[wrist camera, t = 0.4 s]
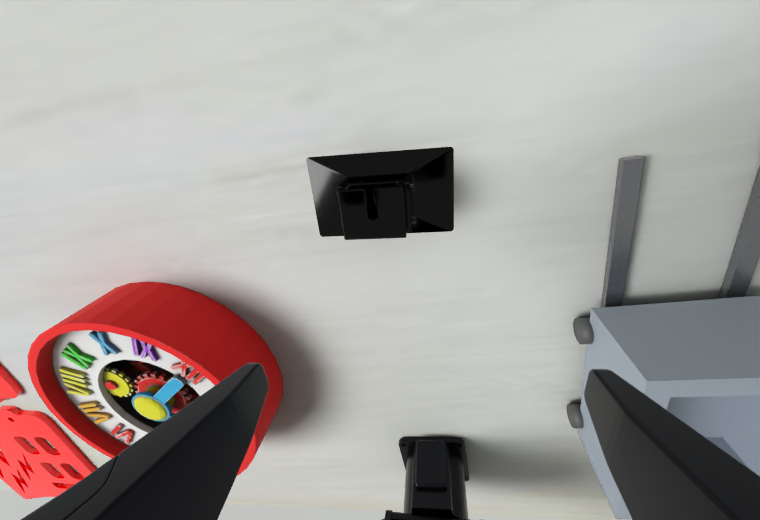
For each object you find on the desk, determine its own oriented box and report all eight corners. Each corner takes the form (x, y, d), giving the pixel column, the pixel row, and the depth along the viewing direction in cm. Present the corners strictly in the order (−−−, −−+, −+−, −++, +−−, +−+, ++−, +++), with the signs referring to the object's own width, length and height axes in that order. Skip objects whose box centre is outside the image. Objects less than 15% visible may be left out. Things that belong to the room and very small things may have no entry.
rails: (693, 423, 26) (697, 428, 26) (586, 423, 28) (589, 428, 27) (793, 130, 16) (803, 131, 16) (619, 158, 18) (624, 160, 18)
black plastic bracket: (479, 129, 19) (493, 137, 15) (474, 241, 22) (485, 272, 18) (285, 145, 21) (251, 157, 17) (307, 245, 24) (282, 275, 20)
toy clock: (4, 397, 29) (68, 272, 20) (68, 351, 34) (140, 236, 26) (190, 503, 33) (302, 437, 25) (221, 449, 39) (324, 379, 30)
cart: (722, 420, 25) (820, 528, 19) (565, 422, 28) (605, 517, 22) (777, 284, 20) (941, 372, 14) (575, 300, 22) (633, 381, 16)
